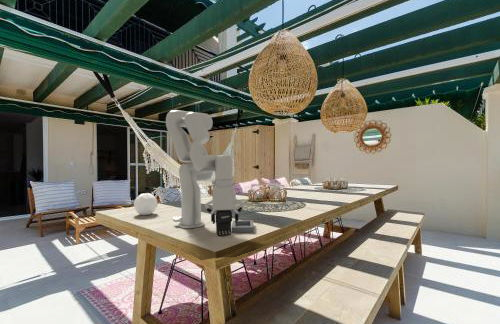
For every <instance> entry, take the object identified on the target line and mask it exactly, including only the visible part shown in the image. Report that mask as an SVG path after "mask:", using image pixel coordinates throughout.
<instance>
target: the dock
mask: <svg viewBox="0 0 500 324" xmlns="http://www.w3.org/2000/svg"><path fill="white" fill-rule="evenodd" d="M254 233H255V227H254V220H253V219H251V220H248V219H242V220H240V219H239V220H238V221H237V223H235V220H232V222H231V234H254Z"/></svg>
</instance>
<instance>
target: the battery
mask: <svg viewBox="0 0 500 324" xmlns="http://www.w3.org/2000/svg"><path fill="white" fill-rule="evenodd" d="M232 211H233V210H219V211H217V210H216V211H215V236H216V237H228V236H231V235H232V222H233V212H232Z"/></svg>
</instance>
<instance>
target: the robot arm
mask: <svg viewBox="0 0 500 324" xmlns="http://www.w3.org/2000/svg"><path fill="white" fill-rule="evenodd" d="M213 122H214V121H213V119H212V117H211V115H209V114H208V113H202V112H197V111H195V112H194V111H188V110H187V111H185V110H180V109H179V110H178V109H174V110H170V111H169V112H167V114H166V117H165V127H166V129H167V132H168V134H169V136H170V137H171V140H172V143H173V144H172V145H173V147H174V151H175V155H176V156H177V159H178V160H179V162H180V163H181V162H182V164H181V165H180V166H179V168H178V176H179V180H180V182H179V183H180V194H181V195H180V196H181V197H180V201H181V203H180V204H181V216H179V217H177V216H176V217H175V216H173V219H172V221H173V222H176V223H177V222H178V227H179V228H181V229H197V228H201V227H203V226H204V225H205V221H203V220H202V201H201V200H202V198H201V197H202V194H201V193H202V192H201V187H200V185H199V184H198V182H203V181H208V180H210V179H212V177H213V174H214V180H212V181H211V185H214V186H213V189H212V199H211V200H210V201H208V202H206V203H205V204H204V208H205V209H206V211H207V212H208V213H209V214H210V218H211V219H210V221H211V223H212V225H214V224H216V211H219V210H231V211H233V212H234V221H235V223H237V221H239V213H241V211H242V210H243V208H244V206H245V202H243V201H241V200H239V199H237V195H236V194H237V193H236V188H235V185H233V183H234V182H233V181H234V180H233V157H232V156H231V155H230V154H219V155H218V154H217V155H216V154H211V155H210V154H208V150H207V149H206V148H205V146H204V145H205V144H206V143H208V142H209V140H210V138H211V135H210V132H209V130H211V129H212V128H213V124H214V123H213ZM183 128H186V130H187V131H188V133H187V132H186V131H185V130H184V129H183ZM190 139H191V140H190ZM191 141H192V142H191ZM237 204H239V205H240V206H239V207H238V208H237ZM210 205H212V209H211V208H210Z"/></svg>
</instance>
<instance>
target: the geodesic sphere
mask: <svg viewBox="0 0 500 324" xmlns="http://www.w3.org/2000/svg"><path fill="white" fill-rule="evenodd" d="M133 207H134V210H135V212H136V213H137V214H139V215H142V216H148V215H152V214H153V213H154V212H155V211H156V210H157V207H158V199H157V198H156V197H155V195H154V194H153V193H149V192H145V193H140V194H139V195H138V196H137V197H136V198H135V200H134V201H133Z"/></svg>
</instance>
